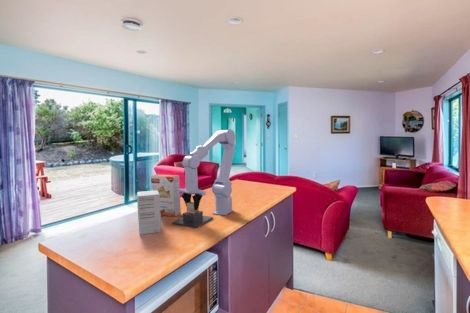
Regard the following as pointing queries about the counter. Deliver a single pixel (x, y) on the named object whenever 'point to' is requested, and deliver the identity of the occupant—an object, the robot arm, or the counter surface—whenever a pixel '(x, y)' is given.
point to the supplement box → (149, 212)
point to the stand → (192, 220)
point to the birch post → (191, 208)
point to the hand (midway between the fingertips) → (192, 208)
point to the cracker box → (167, 193)
